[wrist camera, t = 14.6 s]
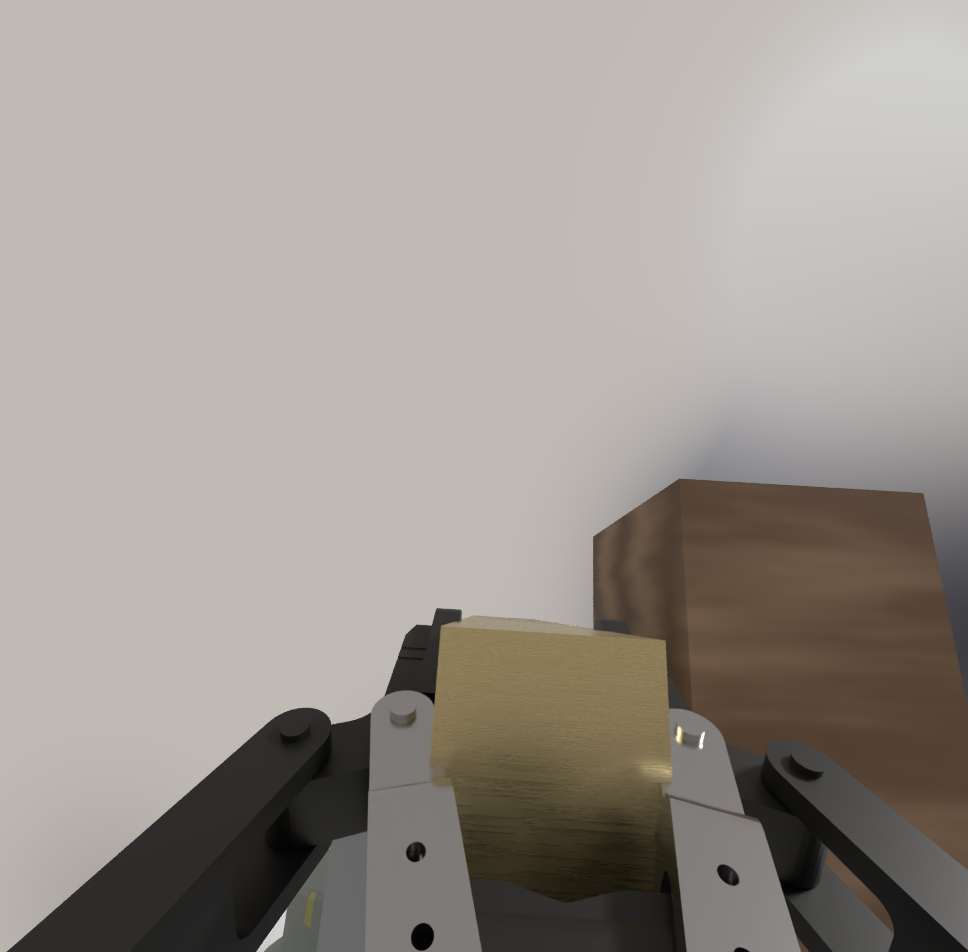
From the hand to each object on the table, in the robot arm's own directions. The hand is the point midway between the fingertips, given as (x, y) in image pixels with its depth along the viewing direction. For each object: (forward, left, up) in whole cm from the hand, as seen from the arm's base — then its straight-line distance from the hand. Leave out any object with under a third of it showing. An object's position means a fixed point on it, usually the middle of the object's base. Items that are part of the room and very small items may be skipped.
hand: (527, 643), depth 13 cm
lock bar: (-5, -4, -3) cm, 8 cm away
